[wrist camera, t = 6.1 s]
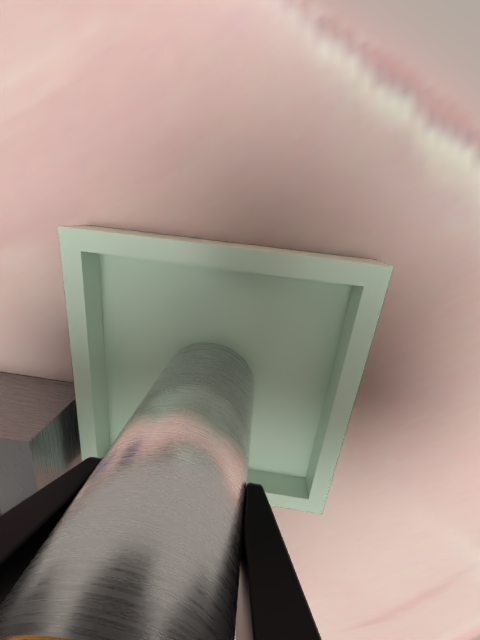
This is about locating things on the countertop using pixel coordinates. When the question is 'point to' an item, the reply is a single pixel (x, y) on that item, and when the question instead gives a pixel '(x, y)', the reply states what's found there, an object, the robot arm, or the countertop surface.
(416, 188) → the countertop surface
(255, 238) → the countertop surface
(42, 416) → the block
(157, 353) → the tray
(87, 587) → the pin
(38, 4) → the countertop surface
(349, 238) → the countertop surface
